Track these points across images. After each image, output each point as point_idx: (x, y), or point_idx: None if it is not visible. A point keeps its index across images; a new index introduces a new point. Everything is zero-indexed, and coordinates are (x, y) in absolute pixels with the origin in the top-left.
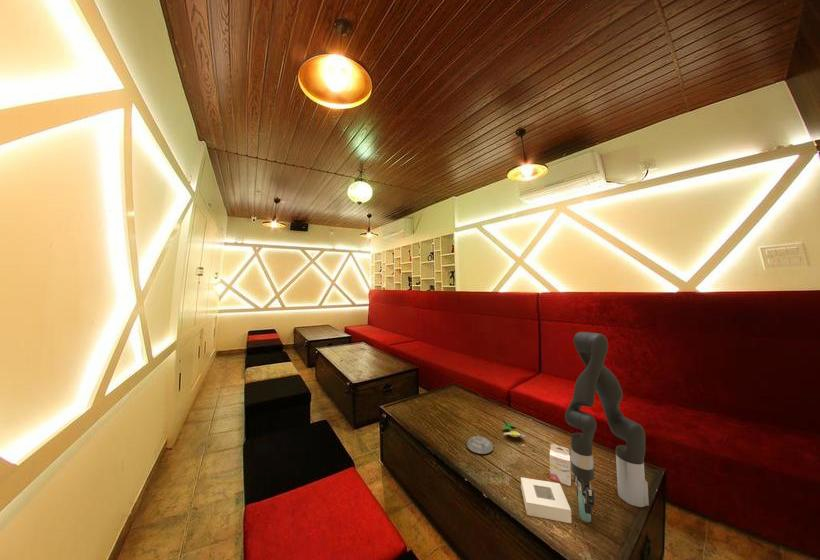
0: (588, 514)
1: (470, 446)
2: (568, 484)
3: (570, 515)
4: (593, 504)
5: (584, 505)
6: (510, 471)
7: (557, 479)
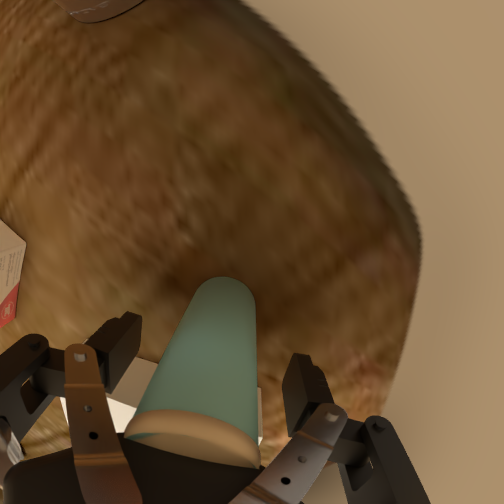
0: (255, 326)
1: None
2: (21, 254)
3: (260, 417)
4: (391, 440)
5: (288, 416)
6: (39, 424)
7: (10, 297)
